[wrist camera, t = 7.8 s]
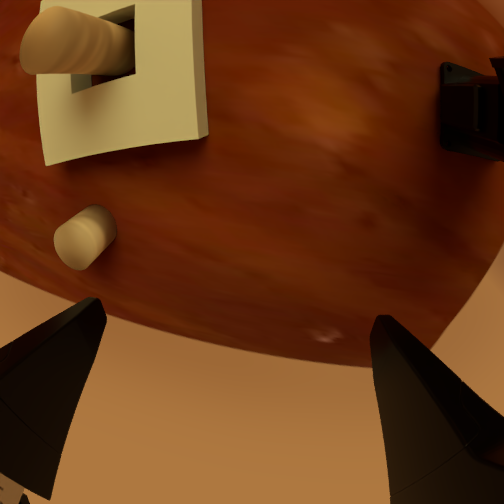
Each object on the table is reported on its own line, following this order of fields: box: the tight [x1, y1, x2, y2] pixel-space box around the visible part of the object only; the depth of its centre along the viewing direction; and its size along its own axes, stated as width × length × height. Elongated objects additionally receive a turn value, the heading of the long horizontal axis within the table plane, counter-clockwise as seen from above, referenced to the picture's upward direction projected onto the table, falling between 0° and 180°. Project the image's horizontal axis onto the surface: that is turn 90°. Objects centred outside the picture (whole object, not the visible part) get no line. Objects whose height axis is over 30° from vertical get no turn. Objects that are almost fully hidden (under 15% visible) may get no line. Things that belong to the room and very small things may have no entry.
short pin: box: [54, 205, 117, 270], centre depth 19 cm, size 4×4×4 cm
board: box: [37, 0, 209, 166], centre depth 13 cm, size 12×14×2 cm
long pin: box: [20, 6, 135, 76], centre depth 11 cm, size 4×4×8 cm
